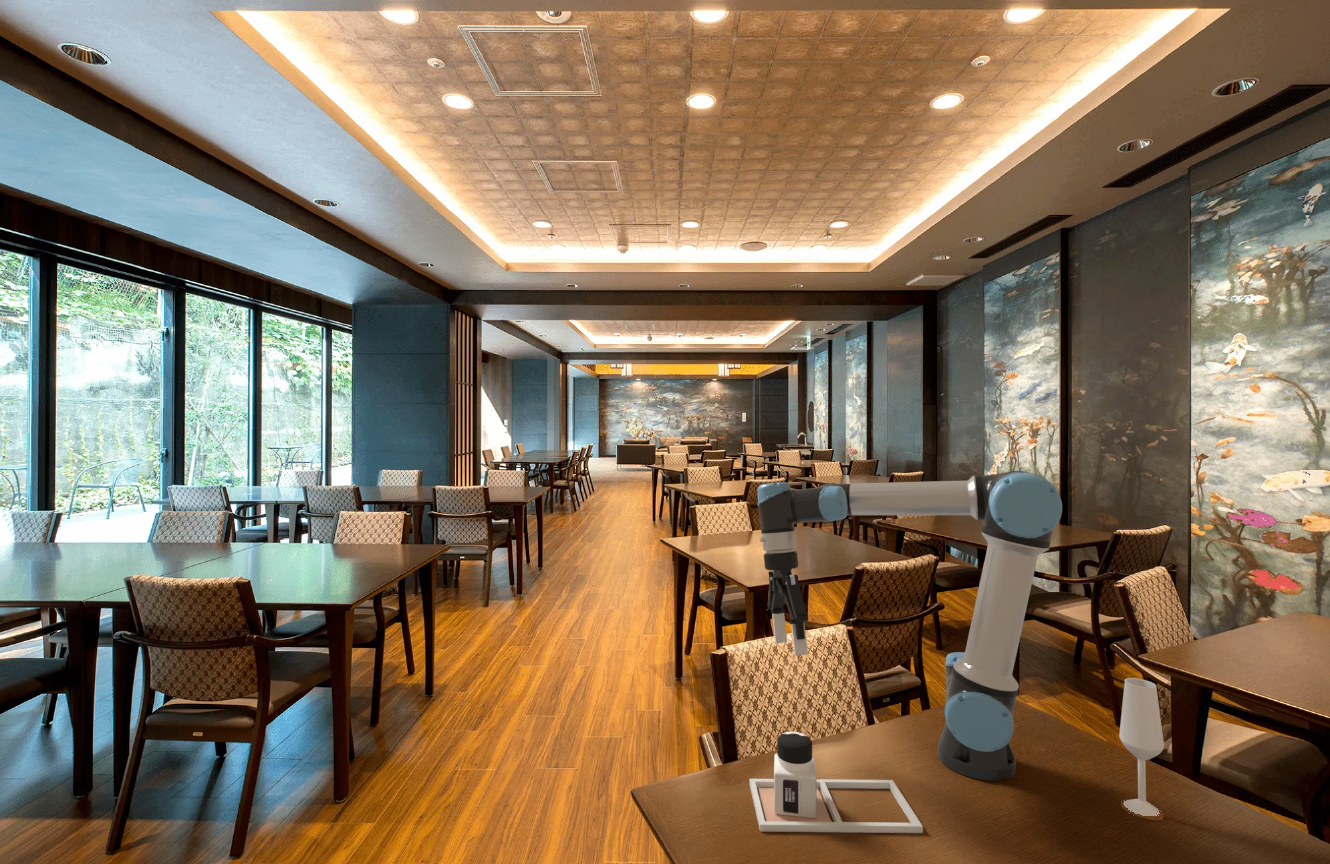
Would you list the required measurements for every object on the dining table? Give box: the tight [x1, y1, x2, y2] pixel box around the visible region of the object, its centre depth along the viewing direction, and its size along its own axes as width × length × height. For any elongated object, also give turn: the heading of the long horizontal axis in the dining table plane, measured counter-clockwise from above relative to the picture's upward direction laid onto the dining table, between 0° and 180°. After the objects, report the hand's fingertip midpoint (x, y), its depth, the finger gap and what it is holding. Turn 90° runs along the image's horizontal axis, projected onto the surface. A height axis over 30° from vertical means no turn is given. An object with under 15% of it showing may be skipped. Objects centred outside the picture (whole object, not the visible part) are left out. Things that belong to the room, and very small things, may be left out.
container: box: [773, 731, 817, 819], centre depth 117 cm, size 8×8×13 cm
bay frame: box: [749, 778, 924, 834], centre depth 116 cm, size 29×15×1 cm, turn 89°
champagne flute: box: [1119, 677, 1165, 816], centre depth 116 cm, size 7×7×24 cm
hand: (790, 648), depth 135 cm, fingers open, 13 cm apart
